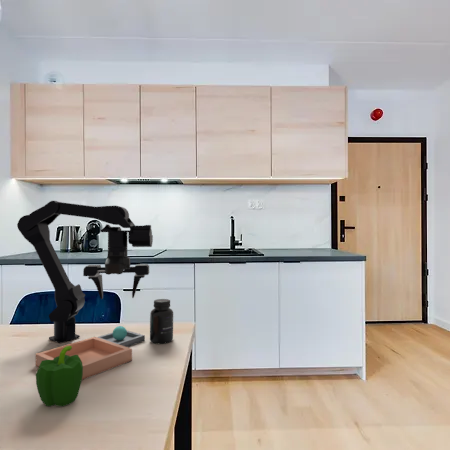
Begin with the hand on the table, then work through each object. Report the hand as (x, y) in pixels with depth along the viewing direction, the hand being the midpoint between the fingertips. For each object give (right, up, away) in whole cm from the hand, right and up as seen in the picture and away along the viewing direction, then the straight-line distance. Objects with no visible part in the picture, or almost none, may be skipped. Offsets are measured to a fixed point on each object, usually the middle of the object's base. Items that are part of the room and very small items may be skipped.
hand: (117, 298), depth 104 cm
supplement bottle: (+14, -12, -3) cm, 19 cm away
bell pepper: (+1, -12, -38) cm, 40 cm away
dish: (-2, -12, -20) cm, 23 cm away
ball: (+2, -9, -4) cm, 10 cm away
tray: (+2, -12, -4) cm, 13 cm away
